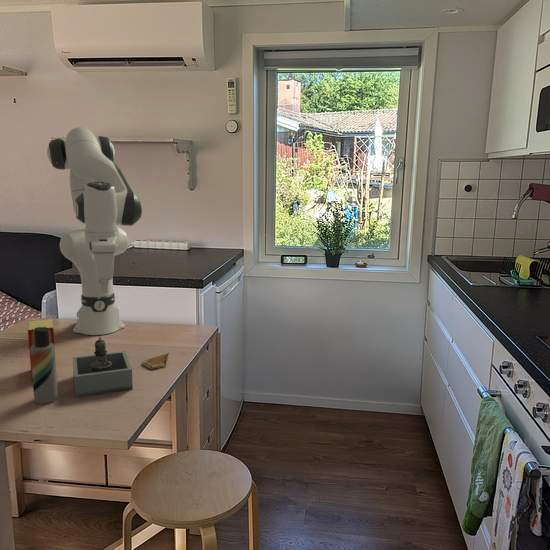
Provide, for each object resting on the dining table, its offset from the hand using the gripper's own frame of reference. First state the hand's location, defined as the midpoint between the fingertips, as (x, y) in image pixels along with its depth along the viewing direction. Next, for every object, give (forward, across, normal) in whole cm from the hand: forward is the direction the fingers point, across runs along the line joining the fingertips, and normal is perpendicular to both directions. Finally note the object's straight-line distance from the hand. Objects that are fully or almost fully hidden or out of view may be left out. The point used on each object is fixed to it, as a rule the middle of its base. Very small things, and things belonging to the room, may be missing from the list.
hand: (103, 288), depth 140 cm
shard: (+28, -5, +16) cm, 32 cm away
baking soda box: (+28, -7, -17) cm, 33 cm away
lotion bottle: (+27, +12, -16) cm, 34 cm away
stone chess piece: (+26, +3, -1) cm, 26 cm away
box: (+27, +5, -1) cm, 28 cm away
